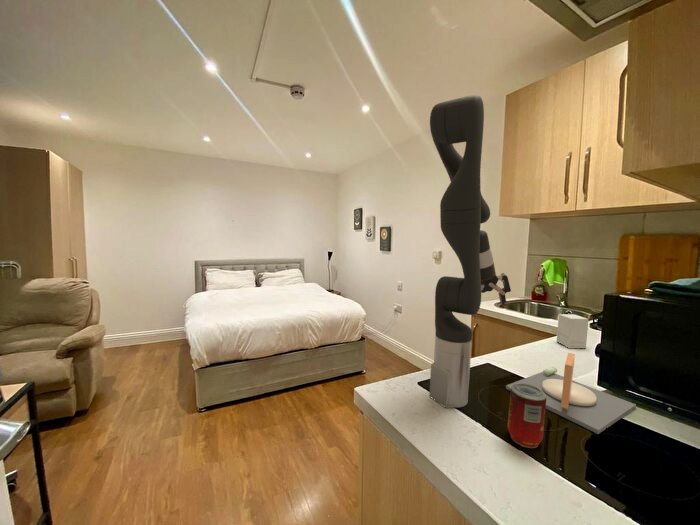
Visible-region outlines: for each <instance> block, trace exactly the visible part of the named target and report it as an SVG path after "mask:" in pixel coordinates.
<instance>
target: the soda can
mask: <svg viewBox="0 0 700 525" xmlns="http://www.w3.org/2000/svg"><path fill="white" fill-rule="evenodd" d="M546 399H547V398H546V395H545V393H544V392H542V391H541V390H540V389H539V388H537V387H535V386H533V385H529V384H524V383H521V384H514V385H512V386H511V389H510V392H509V404H508V413H507V414H508V415H507V417H508V418H507V431H508V433H509V434H510V435H509V436H510V439H511V440H512V441H513V442H514V443H516V444H518V445H520V446H521V447H524V448H529V449H536V448H537V447H538V446H539V445H540V443H541V442H542V441H543V439H544V430H545V429H544V428H545V417H546V410H547V409H546Z"/></svg>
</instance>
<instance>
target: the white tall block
mask: <svg viewBox="0 0 700 525" xmlns="http://www.w3.org/2000/svg"><path fill="white" fill-rule="evenodd" d="M589 320H590V319H589V318H586V317H583V316H580V315H578V314H572V313H571V314H570V313H569V314H568V313H567V314H566V313H565V314H564V313H561V314H560V313H559V314H558V322H557V330H556V343H557V342H559V343H561V344H563V345H565V346H566V348H567V347H568V348H567V349H570V348H586V349H587V339H588V330H589ZM559 343H558V344H559ZM561 344H560V345H561ZM563 345H562V346H563ZM565 346H564V347H565Z"/></svg>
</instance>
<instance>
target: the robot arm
mask: <svg viewBox="0 0 700 525" xmlns="http://www.w3.org/2000/svg"><path fill="white" fill-rule="evenodd" d="M483 101H484V100H483V99H482V97H481V96H480V95H478V94H471V95H467V96H463V97H462V96H461V97H458V98H454V99H450V100H446V101H443V102H442V101H441V102H439V103H436V104H435V105H434V106H433V107H432V109H431V111H430V116H429V128H430V134H431V138H432V141H433V143H434V145H435V148H436V150H437V153H438V155H439V158H440V160H441V161H442V162H441V163H442V164H443V166H444V169H445V170H446V173H447V175H448V177H449V179H450V180H449V181H450V183H449V184H448V187H447V188H446V190H445V191H444V193H443V195H442V198H441V200H440V204H439V205H440V206H439V208H440V210H439V211H440V214H439V215H440V230H441V232H442V234H443V236H444V238H445V240H446V241H447V242H448V244H449V246H450V247H451V248H452V250H453V251H454V254H455V255H456V257H457V258H458V260H459V262H460V265H461V269H462V272H463V273H462V274H463V277H457V276H456V277H455V276H449V275H448V276H441V277H440V278H439V279H438V281H437V283H436V287H435V290H434V291H435V292H434V326H435V328H434V329H435V335H434V354H433V363H431V364H430V377H429V378H430V379H429V393H428V394H429V396H430V397H429V398H431V397H432V398H433V399H432V398H431V399H432V400H434V399H435V400H436V401H435V400H434V401H435V402H437V401H438V402H439V403H438V402H437V403H438V404H440V405H441V404H442V405H441V406H443V407H444V406H445V407H448V408H462V407H463V408H464V407H465V406H466V405H468V401H469V386H470V373H471V357H472V356H471V354H472V342H473V330H472V328H471V327H470V326H469V325H468V324H466V323H464V322H463V321H461V320H459V319H458V318H457V317H456V316H455V315H454V314H453V313H457V314H461V315H466V316H467V315H468V316H474V315H476V314H477V313H478V312H479V310H480V308H481V304H482V294H484V293H485V294H486V292H492V291H496V292H497V293H498V298H499V301H500V304H501V305H502V306H505V305H506V303H507V298H506V294H508V293H510V292H511V291H512V290H511V285H510V282H509V278H508V275H507V274H505V273H504V272H503V273H500V275H497V273H496V268H495V262H494V258H493V253H492V251H491V246H490V242H489V240H490V239H489V235H488V232H486V231H485V230H481V225H482V224H485V223H486V222H488V221H489V219H490V217H491V209H490V207H489V204H488V203H487V202H486V200H485V199H484V196H483V195H482V192H481V188H482V186H481V168H482V167H481V165H482V152H483V151H482V149H483V139H484V138H483V136H484V126H485V125H484V121H485V109H484V102H483ZM460 143H465V149H464V152H463V156H462V155H461V154H460V153H459V152H458V151H457V150H456V148H455V146H454V145H455V144H460ZM453 144H454V145H453ZM499 281H500V282H502V285H503V288H501V287H500V286H499V285H498V284H497V283H498V282H499ZM445 407H444V408H445Z"/></svg>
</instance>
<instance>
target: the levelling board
mask: <svg viewBox="0 0 700 525" xmlns="http://www.w3.org/2000/svg"><path fill="white" fill-rule="evenodd" d="M557 372H558V369H557V367H556V366H552V367H549V368H546V369H544V370H542V371H541V372H539V373H536V374H532V375H530V376H528V377H525V378H522V379H520V380H516V381H514V382H512V383H509V384H506V385H505V390H507V391H510V389H511V386H512V385H514V384H521V383H524V384H529V385H533V386H535V387H537V388H539V389H540V390H541V391H542V392H544V393H545V395H546V398H547V399H546V409H545V410H548V411H549V412H552V413H554V414H556V415H558V416H560V417H562V418H564V419H566V420H568V421H571V422H573V424H576V425H579V426H580V427H583V428H585V429H586V430H589V431H591V432H593V433H594V434H596V435H599V434H601V433H602V432H604V431H605V430H606V428H607V429H608V428H609V427H611V426H612V425H614V424H615V423H617V422H618V421H619V420H621V419H623V418H624V417H625V416H627V415H628V414H630V413H631V412H633V411H634V410H636V408H637V404H636V403H632V402H630V401H627V400H625V399H622V398H620V397H617V396H615V395H612V394H610V393H607V392H604V391H602V390H599V389H597V388H594V387H592V386H588V385H586V384H583V383H581V382H578V381H576V380H573V379H572V382H573V383H576V384H579V385H581V386H583V387H585V388H587V389H589V390H591V391H592V392H593V393H594V394H595V395H596V403H595V404H594V405H592V406H578V405H573V404H569V406H568V409H565V408H562V407H561V401H560V400H558V399H555V398H553V397H552V396H550V395H548V394H547V393H546V392H545V391H544V390H543V389H542V383H543V381H544V380H547V379H560V380H564V375H560V374H558V373H557Z"/></svg>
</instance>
